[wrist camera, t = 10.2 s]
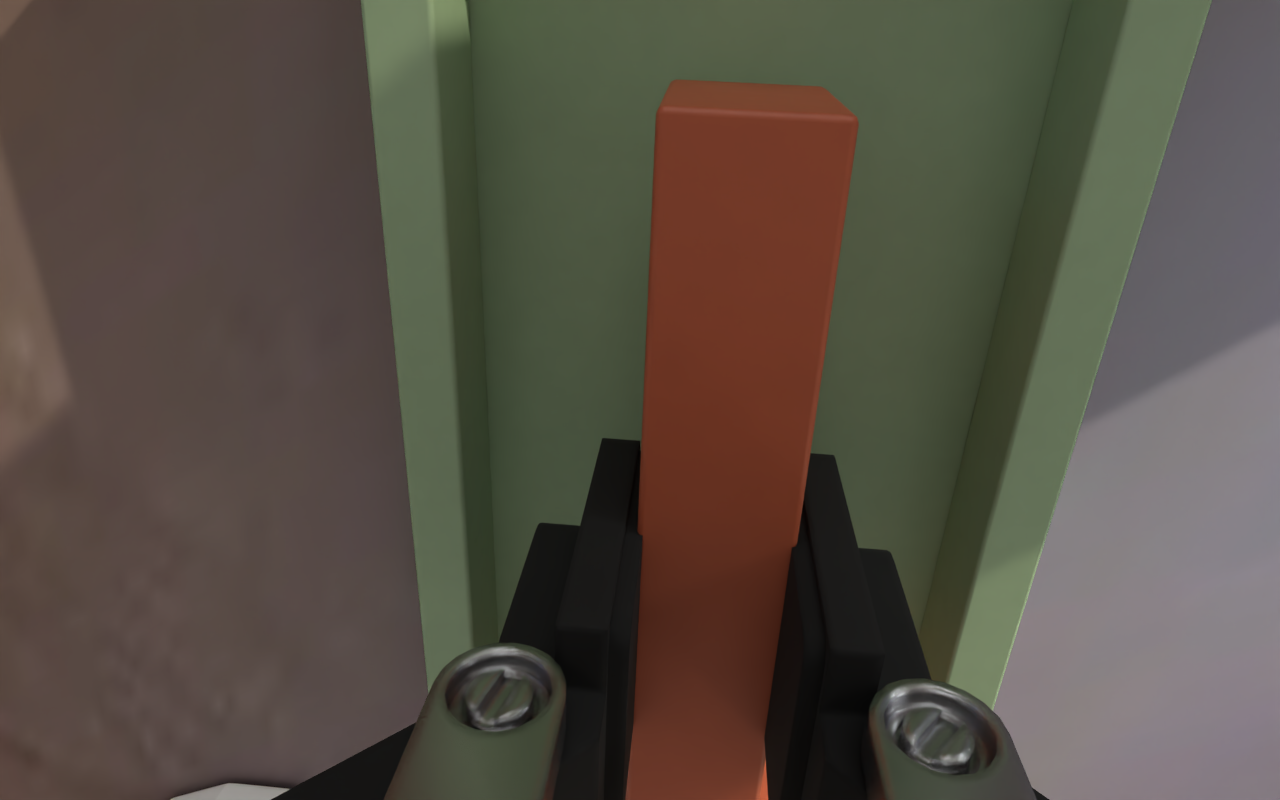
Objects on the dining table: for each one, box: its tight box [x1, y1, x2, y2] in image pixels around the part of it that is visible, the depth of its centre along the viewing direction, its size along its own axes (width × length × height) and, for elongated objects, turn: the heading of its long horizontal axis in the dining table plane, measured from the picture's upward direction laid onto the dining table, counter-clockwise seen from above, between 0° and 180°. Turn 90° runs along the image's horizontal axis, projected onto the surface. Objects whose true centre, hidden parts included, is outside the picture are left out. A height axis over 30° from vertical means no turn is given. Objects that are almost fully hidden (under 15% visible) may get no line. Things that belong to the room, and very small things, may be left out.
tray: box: [361, 0, 1212, 711], centre depth 12 cm, size 22×9×2 cm, turn 178°
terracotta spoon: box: [625, 79, 859, 800], centre depth 12 cm, size 14×4×2 cm, turn 178°
